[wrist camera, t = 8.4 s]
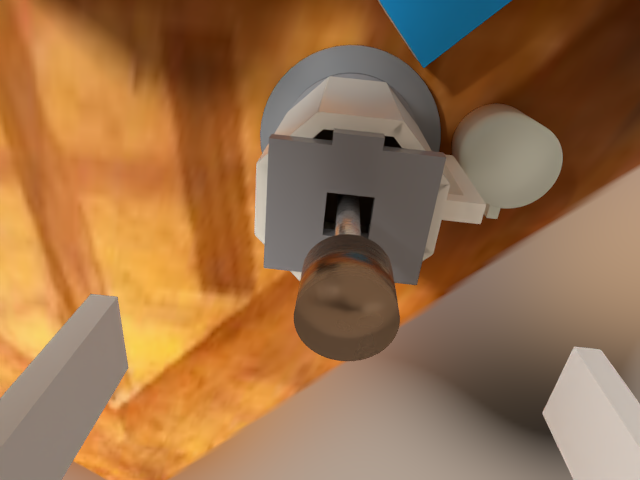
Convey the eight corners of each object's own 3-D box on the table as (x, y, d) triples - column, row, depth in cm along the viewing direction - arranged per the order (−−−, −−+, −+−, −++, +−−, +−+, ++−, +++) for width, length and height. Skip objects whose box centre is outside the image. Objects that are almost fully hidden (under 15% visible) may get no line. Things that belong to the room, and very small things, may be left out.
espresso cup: (461, 99, 34) (481, 116, 29) (540, 107, 34) (576, 127, 28) (440, 190, 37) (454, 221, 32) (512, 198, 37) (538, 230, 32)
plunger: (324, 140, 28) (297, 270, 14) (380, 146, 28) (408, 282, 14) (318, 192, 30) (290, 354, 16) (372, 198, 30) (390, 366, 16)
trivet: (265, 34, 33) (263, 35, 32) (457, 55, 32) (460, 56, 32) (259, 210, 39) (257, 214, 38) (419, 228, 39) (421, 232, 38)
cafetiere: (287, 65, 33) (248, 101, 20) (461, 83, 32) (526, 131, 20) (279, 197, 38) (245, 289, 25) (431, 214, 37) (469, 315, 25)
